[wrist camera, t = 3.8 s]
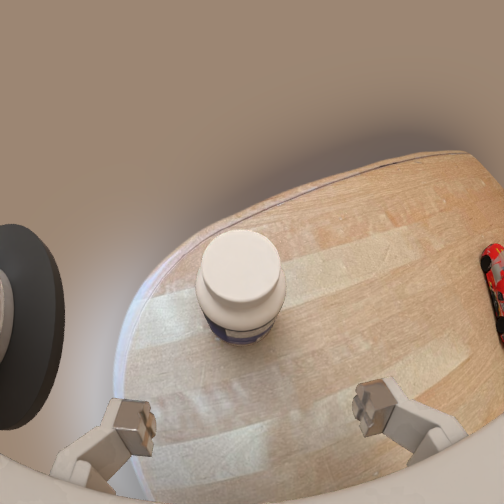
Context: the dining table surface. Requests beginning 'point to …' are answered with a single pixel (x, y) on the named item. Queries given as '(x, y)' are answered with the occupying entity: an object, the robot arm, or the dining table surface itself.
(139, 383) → the dining table surface
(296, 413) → the dining table surface
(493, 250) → the race car
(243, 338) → the pill bottle
